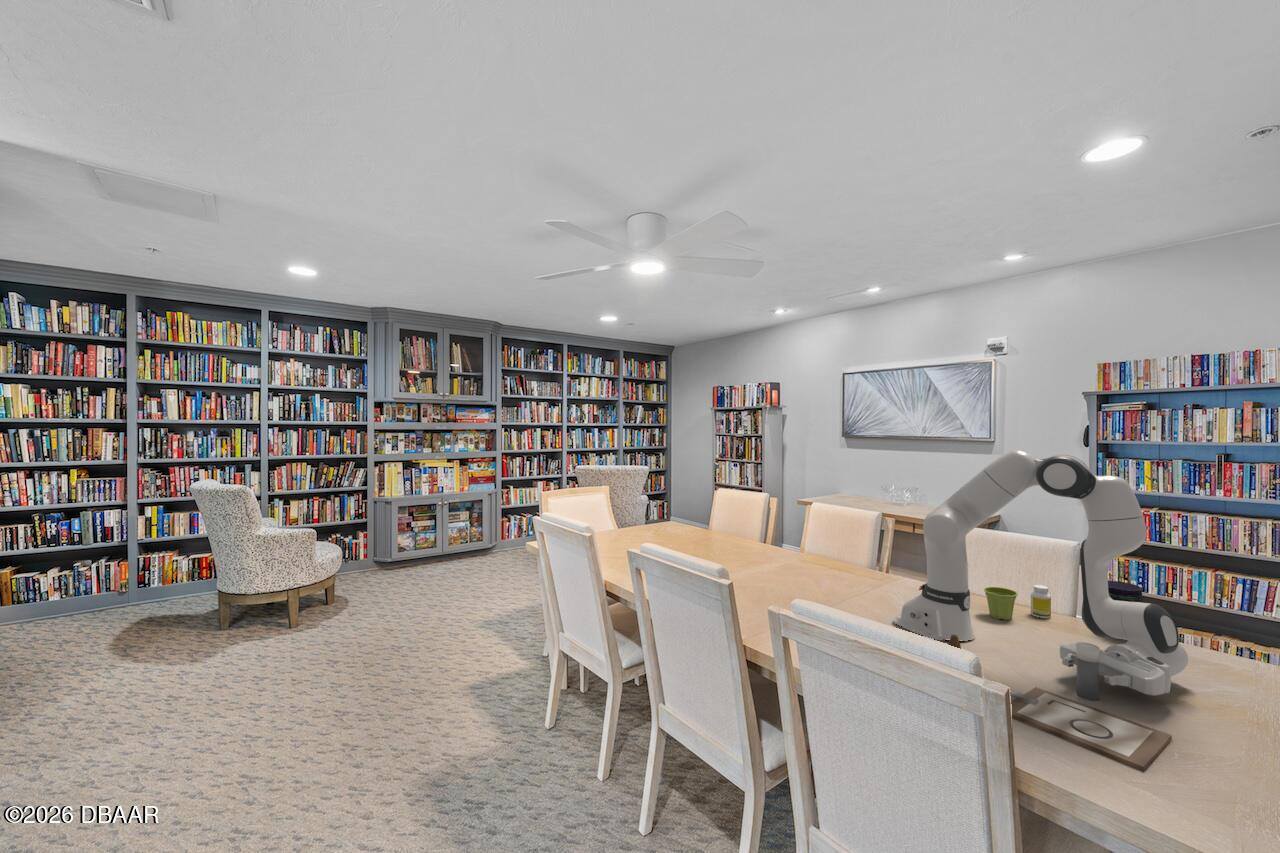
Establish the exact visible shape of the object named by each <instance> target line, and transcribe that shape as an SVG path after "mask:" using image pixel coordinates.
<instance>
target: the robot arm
mask: <svg viewBox="0 0 1280 853" xmlns="http://www.w3.org/2000/svg"><path fill="white" fill-rule="evenodd" d="M1034 486H1039V487H1040V488H1041V489H1042V490H1044V491H1045V492H1046V493H1048V494H1051V495H1054V496H1057V497H1063V498H1070V499H1071V498H1072V499H1077V500H1079V501H1080V503H1081V504H1082V506H1083V508H1084V512H1085V515H1086V519H1087V524H1088V525H1087V526H1088V532H1087V537H1086V538H1085V539H1084V540H1082V542H1081V544H1080V551H1079V552H1080V554H1079V555H1080V558H1079V559H1080V572H1081V574H1080V575H1081V584H1082V585H1081V586H1082V588H1081V589H1082V606H1081V619H1082V622H1083V623H1084V625H1085V626H1086V627H1087V628H1088V630H1090V632H1092V633H1093V634H1094V635H1095V636H1096V637H1099V638H1104V639H1114V640H1115V639H1117V640H1122V639H1124V640H1123V641H1126V642H1125V643H1119V644H1118V643H1117V644H1112V645H1110V646H1107V647H1106V648H1105V649H1104V650H1102V649H1100V648H1099V676H1101V677H1104V682H1105V684H1108V685H1110V686H1121V687H1126V688H1128V689H1129V688H1130V689H1132V690H1134V691H1136V692H1139V693H1141V694H1143V695H1146V696H1147V695H1148V696H1151V697H1153V696H1160V695H1164V694H1169V693H1170V692H1171V687H1172V686H1171V684H1172V677H1173V676H1176V675H1178V674H1180V673H1181V672H1183V671H1184V670H1185V669H1186V667H1187V666H1188V665H1189V664H1188V663H1189V655H1188V652H1187V651H1186V649H1185V648H1184V646H1182V644H1180V643H1179V642H1180V635H1179V629H1178V626H1177V623H1176V622H1175V620H1174V619H1173V617H1172V615H1171V614H1170V613H1169V612H1168V611H1167V610H1166V609H1165V608H1163V607H1162V606H1160V605H1159V604H1156V603H1150V602H1142V603H1141V602H1128V601H1118V600H1113V599H1112V598H1111V597H1110V596H1109V592H1108V581H1109V580H1108V570H1107V569H1108V566H1109V564H1110V562H1111V561H1112V560H1114V559H1116V558H1118V557H1120V556H1124V555H1126V554H1130V553H1132V552H1134V551H1135V550H1137V549H1139V548H1140V547H1141V546H1142V545H1143V544H1144V543H1145V541H1146V539H1147V536H1148V535H1147V526H1146V522H1145V519H1144V515H1143V512H1142V509H1141V506H1140V503H1139V500H1138V498H1137V497H1136V495H1135V492H1134V490H1133V489H1132V486H1131V484H1130V483H1129V482H1128V481H1127V480H1126V479H1124V478H1123V477H1119V476H1115V475H1108V474H1107V475H1095V474H1093V473H1092V472H1091V471H1090V469H1089V467H1088V466H1087V464H1086V463H1085V462H1083V461H1082V460H1081V459H1079V458H1077V457H1076V456H1073V455H1070V454H1069V455H1068V454H1056V455H1053V456H1051V457H1046V458H1041V459H1038V458H1036V457H1035V456H1033V455H1032V454H1030V453H1029V452H1027V451H1024V450H1019V449H1014V450H1011V451H1008V452H1007V453H1005V454H1003V455H1002V456H1000V457H998V458H997V459H995V460H994V461H992V462H991V463H989V464H988V465H987V466H986V467H984V468H983V469H982V470H980V471H979V472H978V473H977V474H976V475H975V476H973V477H972V478H971V479H970V480H969V481H968V482H966V483H965V484H964V485H963V486H961V487H960V488H959V489H958V490H957V491H956V492H954V494H952V495H950V497H948V498H947V499H946V500H945V501H944V502H942V503H941V504H940V505H939V506H937V507H936V508H935V509H934V510H932V511H931V512H930V513H928V514H927V515H926V517H924V519H923V523H922V525H923V526H922V531H923V540H924V547H925V548H924V549H925V556H926V583H924V584H922V585H920V586H919V587H918V591H921V594H918V596H915V597H914V598H911V599H910V600H908V601H906V602H905V603H904V604H903V605H902V608H901V612H900V614H899V615H897V616H895V617H894V618H893V621H892V622H893V624H894V625H896V624H897V625H896V626H898V625H899V626H898V627H901V626H902V627H901V628H903V629H905V630H906V631H910V632H912V633H914V634H917V635H919V634H920V635H919V636H921V635H923V636H922V637H924V636H927V637H929V638H933V639H935V640H934V641H945V640H946V639H950V638H951V635H957V636H958V640H959V641H960V640H962V641H965V642H969V641H968V640H971V641H973V640H974V639H975V638H976V636H975V633H974V630H973V624H972V621H971V617H970V616H971V614H970V608H971V592H970V591H971V590H970V589H969V562H968V555H967V546H966V545H967V543H966V542H967V540H966V538H967V537H966V536H967V535H968V534H969V533H970V532H972V531H973V530H974V529H976V528H977V527H978V526H980V525H981V524H982V523H984V522H985V521H987V520H988V519H989V518H991V517H992V516H994V515H995V514H996V513H998V512H999V511H1001V509H1003V508H1004V507H1006V506H1007V504H1010V503H1011V502H1012V501H1013V500H1014V499H1016V498H1017V497H1018V496H1020V495H1021V494H1022V493H1024V491H1025V492H1026V490H1027V489H1029V488H1031V487H1034ZM913 630H914V631H913ZM943 639H945V640H943ZM1076 643H1077V642H1074V643H1073V642H1071V643H1062V644H1060V646H1059V657H1060V659H1061V660H1062V663H1061V664H1062V665H1064V666H1066V667H1068V668H1071V667H1072V668H1073V667H1074V666H1077V657H1076Z"/></svg>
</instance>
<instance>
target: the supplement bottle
mask: <svg viewBox="0 0 1280 853" xmlns="http://www.w3.org/2000/svg"><path fill="white" fill-rule="evenodd" d="M1032 587H1033V591H1031V593H1030V615H1032V616H1033V617H1035V616H1036V618H1039V617H1040V618H1039V619H1050V618H1051V617H1052V613H1051V612H1052V596H1051V595H1050V593H1049V587H1048V586H1046V585H1041V584H1034V585H1033V586H1032Z"/></svg>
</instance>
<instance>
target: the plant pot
mask: <svg viewBox="0 0 1280 853" xmlns="http://www.w3.org/2000/svg"><path fill="white" fill-rule="evenodd" d="M983 591H984V594H985V596H986V600H987V606H988V612H989V616H990V617H992V618H994V619H996V620H1004V621H1009V620H1012V619H1013V613H1014V607H1015V603H1016V599H1017V596H1019V594H1018V593H1019V592H1017V591H1015V590H1014V589H1011V588H1005V587H1002V586H1001V587H1000V586H988V587H987V586H986V587H984V588H983Z"/></svg>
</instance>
